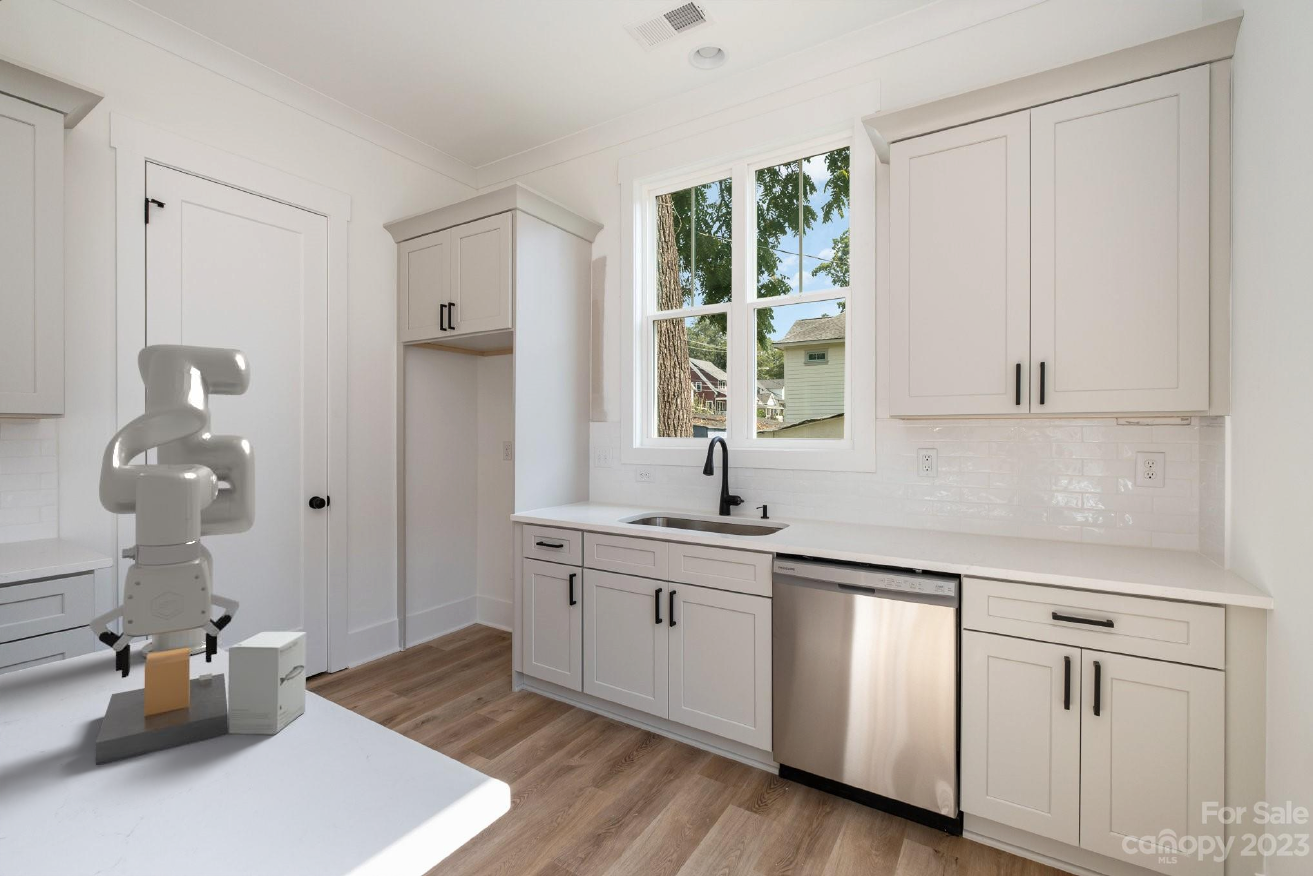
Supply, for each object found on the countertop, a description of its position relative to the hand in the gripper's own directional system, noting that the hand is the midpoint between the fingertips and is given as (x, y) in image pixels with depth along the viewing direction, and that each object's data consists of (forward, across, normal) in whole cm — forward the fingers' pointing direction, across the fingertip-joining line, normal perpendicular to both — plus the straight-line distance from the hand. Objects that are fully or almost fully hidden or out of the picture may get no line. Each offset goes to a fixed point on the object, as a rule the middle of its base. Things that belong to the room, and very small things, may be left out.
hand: (168, 666), depth 91 cm
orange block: (+7, 0, -1) cm, 7 cm away
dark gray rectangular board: (+8, 0, -1) cm, 8 cm away
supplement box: (+8, +12, -9) cm, 17 cm away
